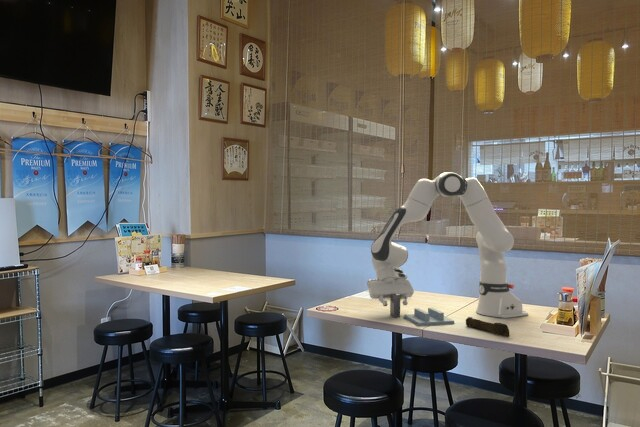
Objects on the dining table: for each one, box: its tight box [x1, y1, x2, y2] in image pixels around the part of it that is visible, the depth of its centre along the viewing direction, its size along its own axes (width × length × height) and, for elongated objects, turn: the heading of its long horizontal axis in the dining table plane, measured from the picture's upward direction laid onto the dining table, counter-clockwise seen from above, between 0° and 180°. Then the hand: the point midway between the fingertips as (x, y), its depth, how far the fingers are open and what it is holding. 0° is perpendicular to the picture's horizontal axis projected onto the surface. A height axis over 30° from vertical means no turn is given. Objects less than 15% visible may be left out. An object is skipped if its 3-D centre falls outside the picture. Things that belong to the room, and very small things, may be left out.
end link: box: [389, 293, 401, 318], centre depth 208 cm, size 3×4×10 cm
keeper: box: [404, 307, 455, 327], centre depth 201 cm, size 16×14×4 cm
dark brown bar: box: [465, 316, 510, 338], centre depth 186 cm, size 19×4×5 cm, turn 31°
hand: (395, 305), depth 208 cm, fingers open, 8 cm apart
